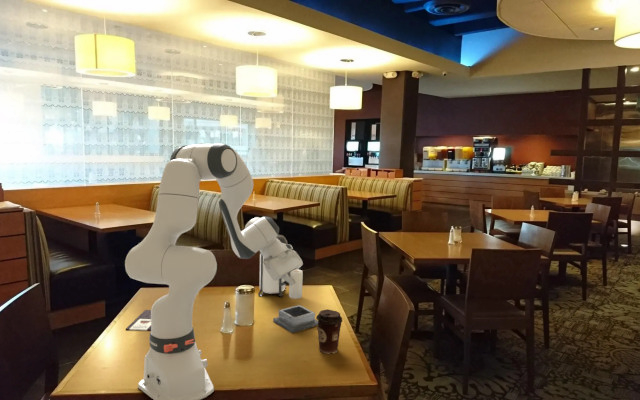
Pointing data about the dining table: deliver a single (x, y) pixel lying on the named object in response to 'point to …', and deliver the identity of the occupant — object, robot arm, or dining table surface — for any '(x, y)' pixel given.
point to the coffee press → (266, 281)
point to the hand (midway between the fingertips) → (297, 281)
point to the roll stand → (296, 318)
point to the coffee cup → (328, 330)
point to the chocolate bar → (141, 322)
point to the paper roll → (296, 284)
